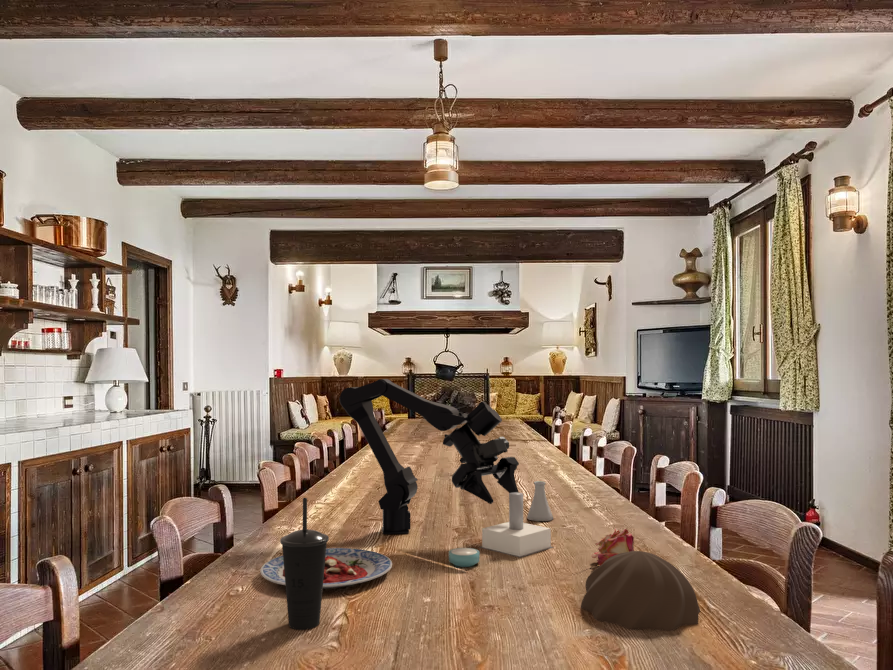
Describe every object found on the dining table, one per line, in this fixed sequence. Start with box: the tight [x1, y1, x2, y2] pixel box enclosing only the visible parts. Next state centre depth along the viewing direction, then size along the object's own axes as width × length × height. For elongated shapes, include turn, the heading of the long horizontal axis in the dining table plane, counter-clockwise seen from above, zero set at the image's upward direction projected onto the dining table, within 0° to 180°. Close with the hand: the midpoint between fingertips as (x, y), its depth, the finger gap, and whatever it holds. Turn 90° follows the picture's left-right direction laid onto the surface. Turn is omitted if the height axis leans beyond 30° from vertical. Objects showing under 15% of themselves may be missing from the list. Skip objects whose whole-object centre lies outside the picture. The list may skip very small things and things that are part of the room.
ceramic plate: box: [259, 547, 393, 590], centre depth 135 cm, size 26×26×3 cm
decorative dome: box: [580, 550, 701, 632], centre depth 115 cm, size 19×20×10 cm
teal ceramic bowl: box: [448, 547, 481, 569], centre depth 141 cm, size 6×6×3 cm
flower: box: [591, 527, 635, 566], centre depth 139 cm, size 10×9×8 cm
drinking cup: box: [279, 497, 329, 631], centre depth 109 cm, size 8×8×20 cm
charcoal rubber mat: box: [479, 545, 554, 558], centre depth 154 cm, size 12×12×1 cm
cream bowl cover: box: [481, 491, 552, 556], centre depth 154 cm, size 11×11×12 cm
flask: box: [526, 481, 554, 522], centre depth 185 cm, size 7×7×10 cm
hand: (505, 500), depth 157 cm, fingers open, 9 cm apart
